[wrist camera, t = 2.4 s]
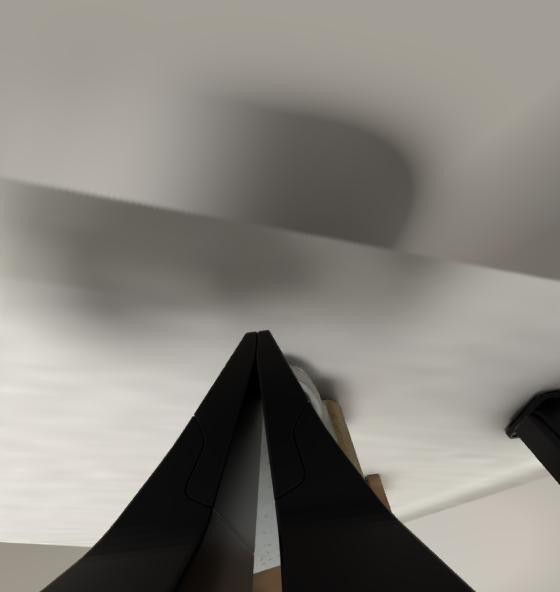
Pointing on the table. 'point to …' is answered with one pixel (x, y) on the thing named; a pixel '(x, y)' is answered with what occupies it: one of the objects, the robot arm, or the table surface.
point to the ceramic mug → (266, 513)
